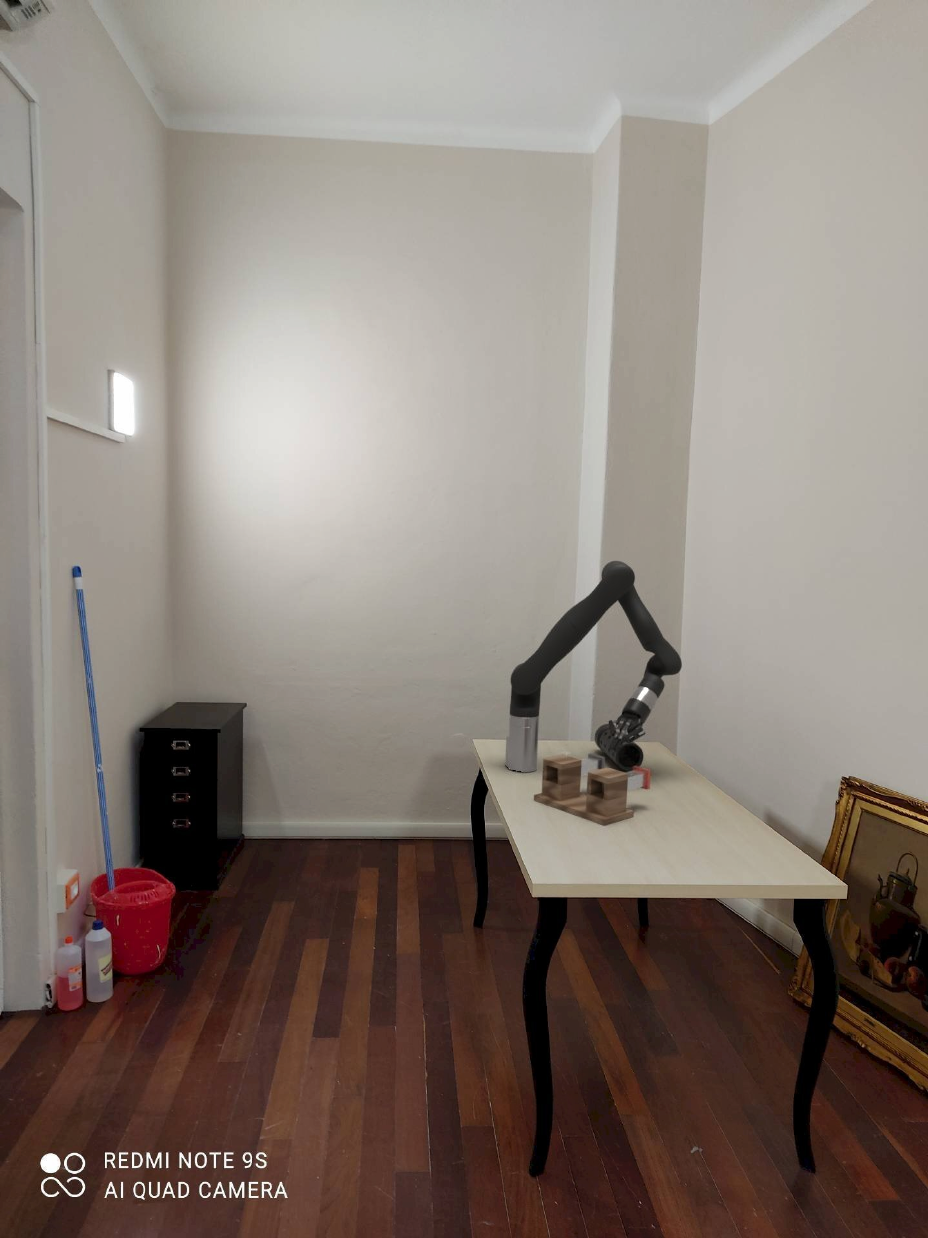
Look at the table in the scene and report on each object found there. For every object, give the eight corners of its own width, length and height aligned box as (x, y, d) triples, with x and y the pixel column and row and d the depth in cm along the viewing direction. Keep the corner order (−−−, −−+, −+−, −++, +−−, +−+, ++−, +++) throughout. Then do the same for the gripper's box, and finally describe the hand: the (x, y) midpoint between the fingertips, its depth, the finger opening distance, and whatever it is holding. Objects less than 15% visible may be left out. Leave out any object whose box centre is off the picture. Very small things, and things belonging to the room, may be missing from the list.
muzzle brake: (613, 774, 264) (615, 742, 263) (592, 751, 291) (593, 722, 290) (643, 774, 265) (645, 742, 263) (619, 751, 292) (620, 722, 291)
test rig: (533, 800, 234) (535, 758, 233) (562, 792, 242) (564, 752, 241) (604, 825, 216) (606, 780, 215) (633, 816, 224) (636, 773, 222)
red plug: (599, 793, 224) (600, 774, 224) (634, 784, 234) (635, 765, 234) (614, 798, 221) (615, 779, 220) (649, 788, 231) (651, 770, 230)
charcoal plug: (554, 779, 236) (555, 761, 236) (590, 770, 246) (590, 753, 246) (568, 783, 232) (569, 765, 232) (603, 775, 242) (604, 757, 242)
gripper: (617, 694, 258) (589, 738, 251) (653, 701, 248) (625, 748, 241) (627, 709, 262) (600, 753, 255) (663, 716, 252) (635, 763, 245)
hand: (612, 750), depth 248 cm, fingers closed
